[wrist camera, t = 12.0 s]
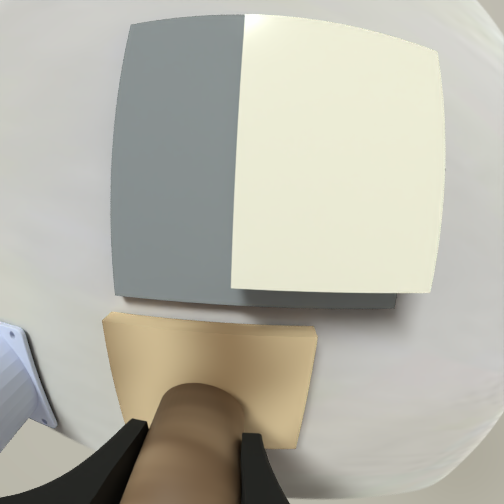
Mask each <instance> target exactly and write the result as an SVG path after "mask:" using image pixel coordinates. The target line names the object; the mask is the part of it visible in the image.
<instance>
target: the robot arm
mask: <svg viewBox="0 0 504 504" xmlns="http://www.w3.org/2000/svg"><path fill="white" fill-rule="evenodd" d="M28 418H30V419H32V420H34V421H37V422H39V423H41V424H44V425H46V426H48V427H51V428H56V426H57V425H58V424H57V421H56V419H55V417H54V415H53V412H52V410H51V407H50V405H49V403H48V400H47V398H46V395H45V393H44V390H43V387H42V385H41V382H40V379H39V376H38V373H37V370H36V367H35V364H34V361H33V358H32V355H31V351H30V348H29V345H28V341H27V337H26V334H25V332H24V331H23V330H22V328H20V327H17V326H14V325H11V324H7V323H4V322H1V321H0V453H1V451H2V450H3V449H4V448H5V446H6V445H7V444H8V443H9V441H10V440H11V439H12V438H13V436H14V435H15V434H16V433H17V431H18V430H19V429H20V428H21V427H22V425H23V424H24V423H25V422H26V420H27V419H28ZM148 430H149V428H148V423H147V421H144V420H139V419H134V418H132V419H130V420H129V421H128V422H127V423H126V424H125V425H124V426H123V427H122V428H121V429H120V430H119V431H118V432H117V433H116V434H115V435H114V436H113V437H112V438H111V439H110V440H109V441H108V442H106V443H105V444H104V445H103V446H102V447H101V448H100V449H99V450H97V451H96V452H95V453H94V454H93V455H91V456H90V457H89V458H87V459H86V460H85V461H84V462H82V463H81V464H80V465H79V466H77V467H75V468H74V469H72V470H71V471H69V472H68V473H66V474H64V475H62V476H61V477H59V478H57V479H55V480H53V481H51V482H49V483H47V484H45V485H42V486H40V487H37V488H34V489H32V490H29V491H26V492H23V493H20V494H16V495H11V496H6V497H1V498H0V504H120V501H121V499H122V496H123V493H124V491H125V488H126V486H127V483H128V480H129V478H130V475H131V473H132V470H133V468H134V465H135V463H136V460H137V458H138V455H139V453H140V450H141V448H142V445H143V443H144V440H145V438H146V435H147V433H148ZM241 478H242V488H241V504H290V503H289V502H288V500H287V498H286V497H285V495H284V493H283V491H282V489H281V487H280V486H279V484H278V482H277V479H276V477H275V475H274V473H273V471H272V468H271V466H270V463H269V461H268V458H267V455H266V452H265V448H264V444H263V439H262V435H261V434H260V433H242V444H241Z"/></svg>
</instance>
